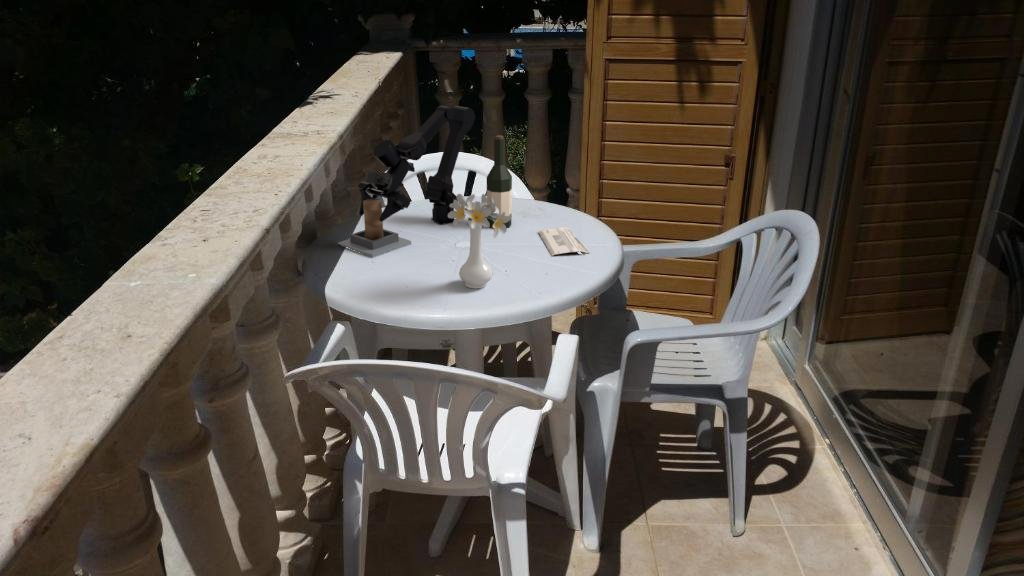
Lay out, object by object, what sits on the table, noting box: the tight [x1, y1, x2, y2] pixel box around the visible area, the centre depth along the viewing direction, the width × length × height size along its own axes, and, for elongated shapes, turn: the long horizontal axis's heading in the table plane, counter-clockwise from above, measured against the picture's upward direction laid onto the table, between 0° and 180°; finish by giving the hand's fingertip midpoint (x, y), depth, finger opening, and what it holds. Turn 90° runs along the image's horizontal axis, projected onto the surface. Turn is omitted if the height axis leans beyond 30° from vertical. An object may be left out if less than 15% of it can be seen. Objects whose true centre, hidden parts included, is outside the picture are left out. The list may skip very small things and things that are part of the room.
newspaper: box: [537, 226, 591, 257], centre depth 257 cm, size 23×12×2 cm, turn 9°
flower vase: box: [448, 193, 513, 290], centre depth 220 cm, size 13×18×25 cm
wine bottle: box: [486, 134, 513, 230], centre depth 266 cm, size 8×8×30 cm
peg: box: [363, 198, 384, 241], centre depth 250 cm, size 6×6×13 cm
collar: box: [337, 228, 412, 258], centre depth 252 cm, size 16×16×4 cm
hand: (370, 217), depth 249 cm, fingers open, 9 cm apart
